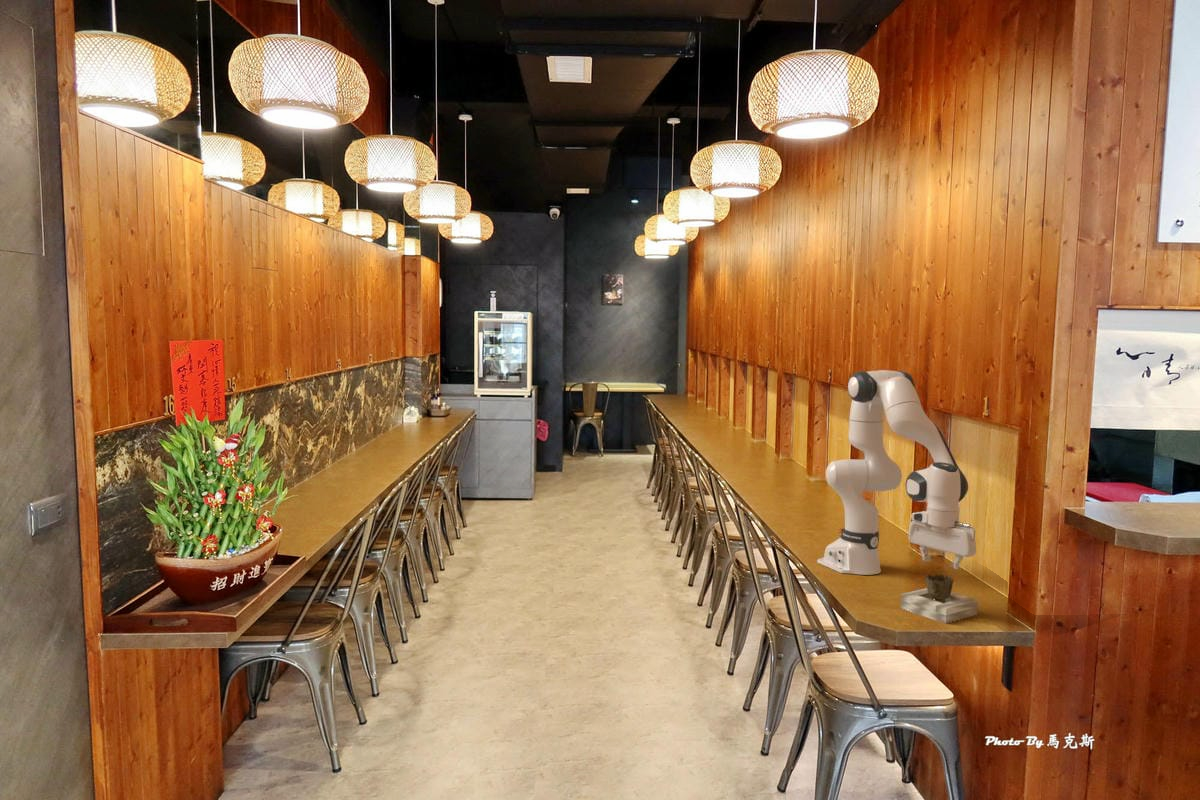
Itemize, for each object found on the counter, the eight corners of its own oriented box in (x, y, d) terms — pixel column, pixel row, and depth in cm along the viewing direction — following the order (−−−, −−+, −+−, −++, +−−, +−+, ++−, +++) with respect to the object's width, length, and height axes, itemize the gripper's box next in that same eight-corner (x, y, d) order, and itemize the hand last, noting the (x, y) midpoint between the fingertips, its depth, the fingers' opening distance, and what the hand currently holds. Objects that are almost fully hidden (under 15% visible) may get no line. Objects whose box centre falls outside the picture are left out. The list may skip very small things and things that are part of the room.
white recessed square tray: (900, 610, 235) (901, 594, 235) (931, 602, 243) (932, 586, 242) (945, 625, 222) (946, 608, 222) (977, 616, 230) (977, 600, 230)
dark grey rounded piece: (945, 599, 236) (946, 573, 236) (956, 607, 229) (958, 580, 228) (920, 599, 236) (921, 573, 236) (931, 607, 229) (932, 580, 228)
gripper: (982, 524, 223) (979, 572, 224) (919, 511, 241) (917, 555, 242) (968, 526, 220) (966, 575, 221) (906, 513, 238) (904, 558, 238)
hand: (940, 564), depth 232 cm, fingers open, 8 cm apart
